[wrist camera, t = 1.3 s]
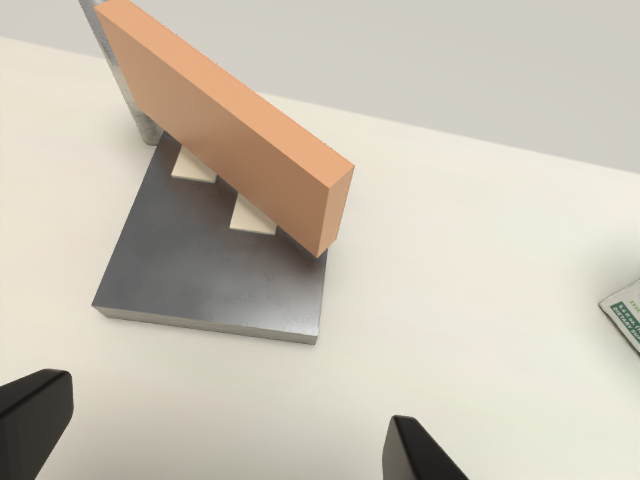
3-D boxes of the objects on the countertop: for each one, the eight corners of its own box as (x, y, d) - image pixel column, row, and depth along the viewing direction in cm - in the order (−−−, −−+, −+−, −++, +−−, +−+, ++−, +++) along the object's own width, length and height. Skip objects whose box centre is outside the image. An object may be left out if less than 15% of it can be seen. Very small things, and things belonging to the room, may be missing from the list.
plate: (314, 344, 21) (336, 275, 12) (65, 311, 21) (-94, 216, 12) (337, 153, 28) (361, 19, 19) (147, 126, 28) (82, -23, 19)
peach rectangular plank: (317, 258, 19) (329, 188, 14) (137, 107, 23) (93, 7, 18) (336, 239, 20) (354, 165, 15) (158, 95, 24) (121, -6, 18)
